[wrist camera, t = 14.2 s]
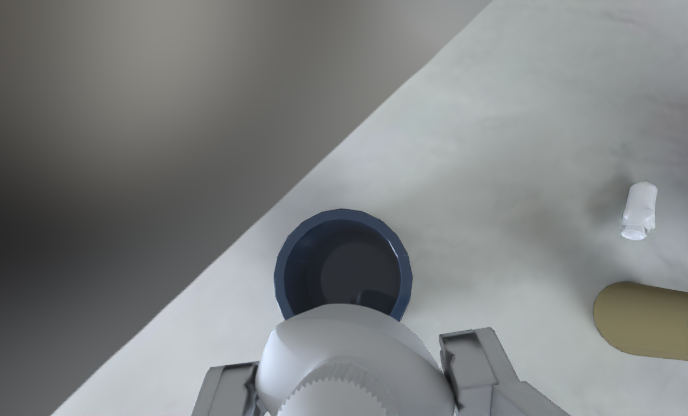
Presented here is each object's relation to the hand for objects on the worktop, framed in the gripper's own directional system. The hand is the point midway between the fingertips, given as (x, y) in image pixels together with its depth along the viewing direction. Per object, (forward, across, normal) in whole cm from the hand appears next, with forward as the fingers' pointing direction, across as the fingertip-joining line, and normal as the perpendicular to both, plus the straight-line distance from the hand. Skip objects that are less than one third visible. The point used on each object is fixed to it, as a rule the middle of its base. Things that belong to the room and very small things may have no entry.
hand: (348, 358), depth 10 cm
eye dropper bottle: (+4, 0, +5) cm, 7 cm away
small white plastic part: (+19, -25, +12) cm, 33 cm away
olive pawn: (+12, -22, +18) cm, 31 cm away
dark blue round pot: (+17, +2, +13) cm, 22 cm away
